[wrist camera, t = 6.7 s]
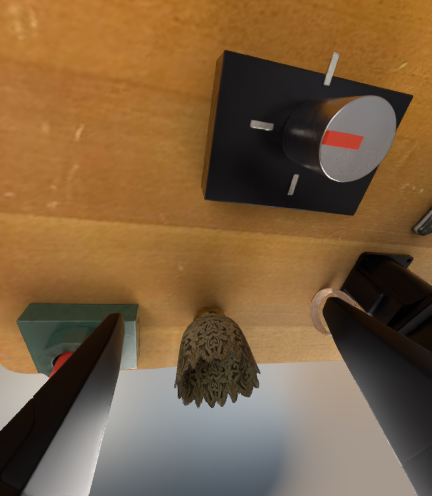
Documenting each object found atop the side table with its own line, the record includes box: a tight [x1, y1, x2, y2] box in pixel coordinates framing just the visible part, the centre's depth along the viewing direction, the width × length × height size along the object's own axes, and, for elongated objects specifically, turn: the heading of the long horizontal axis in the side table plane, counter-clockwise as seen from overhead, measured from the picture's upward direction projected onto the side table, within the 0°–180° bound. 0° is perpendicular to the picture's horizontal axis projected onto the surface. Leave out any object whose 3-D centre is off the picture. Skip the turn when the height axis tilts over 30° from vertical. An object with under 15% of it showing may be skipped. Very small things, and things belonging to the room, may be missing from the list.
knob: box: [282, 95, 396, 182], centre depth 12 cm, size 4×4×5 cm
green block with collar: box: [16, 304, 140, 377], centre depth 23 cm, size 10×8×4 cm
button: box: [49, 352, 74, 379], centre depth 21 cm, size 4×4×2 cm
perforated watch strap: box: [310, 288, 356, 336], centre depth 25 cm, size 3×5×5 cm, turn 157°
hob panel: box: [201, 50, 413, 215], centre depth 15 cm, size 12×9×3 cm
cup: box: [174, 306, 260, 408], centre depth 22 cm, size 8×7×8 cm
